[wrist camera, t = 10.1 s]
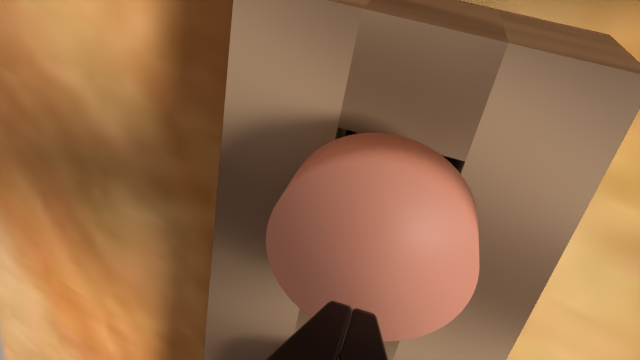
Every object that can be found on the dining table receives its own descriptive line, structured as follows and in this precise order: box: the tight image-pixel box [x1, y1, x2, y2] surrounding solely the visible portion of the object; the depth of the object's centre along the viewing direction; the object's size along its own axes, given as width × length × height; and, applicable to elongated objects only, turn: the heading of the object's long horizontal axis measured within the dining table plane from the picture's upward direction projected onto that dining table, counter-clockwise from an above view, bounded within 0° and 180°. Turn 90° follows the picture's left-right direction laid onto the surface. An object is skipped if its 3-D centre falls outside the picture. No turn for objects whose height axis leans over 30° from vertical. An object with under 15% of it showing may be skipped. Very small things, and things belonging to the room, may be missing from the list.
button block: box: [203, 0, 640, 360], centre depth 19 cm, size 25×9×4 cm, turn 170°
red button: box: [266, 132, 479, 341], centre depth 13 cm, size 5×5×6 cm
